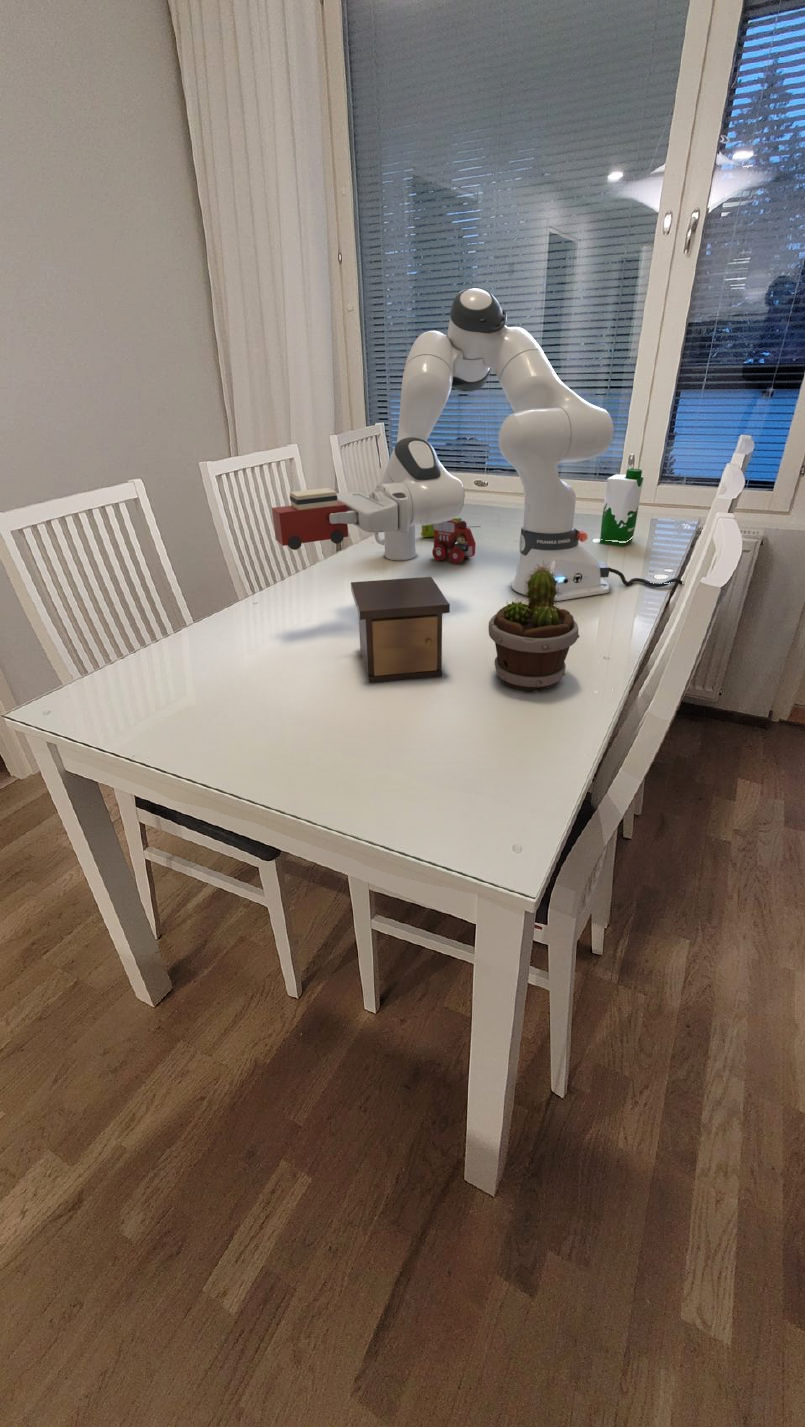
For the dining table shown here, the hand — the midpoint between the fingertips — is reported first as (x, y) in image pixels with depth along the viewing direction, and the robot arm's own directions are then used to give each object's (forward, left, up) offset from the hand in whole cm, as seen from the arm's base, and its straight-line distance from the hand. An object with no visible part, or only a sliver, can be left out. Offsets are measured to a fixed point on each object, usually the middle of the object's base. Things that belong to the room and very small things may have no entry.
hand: (323, 515), depth 122 cm
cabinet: (-11, +20, -23) cm, 32 cm away
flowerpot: (-32, +31, -23) cm, 50 cm away
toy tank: (-41, -64, -23) cm, 80 cm away
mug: (-21, -49, -23) cm, 58 cm away
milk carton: (-86, -48, -23) cm, 101 cm away
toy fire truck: (-36, -42, -23) cm, 60 cm away
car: (+3, +1, -5) cm, 6 cm away
